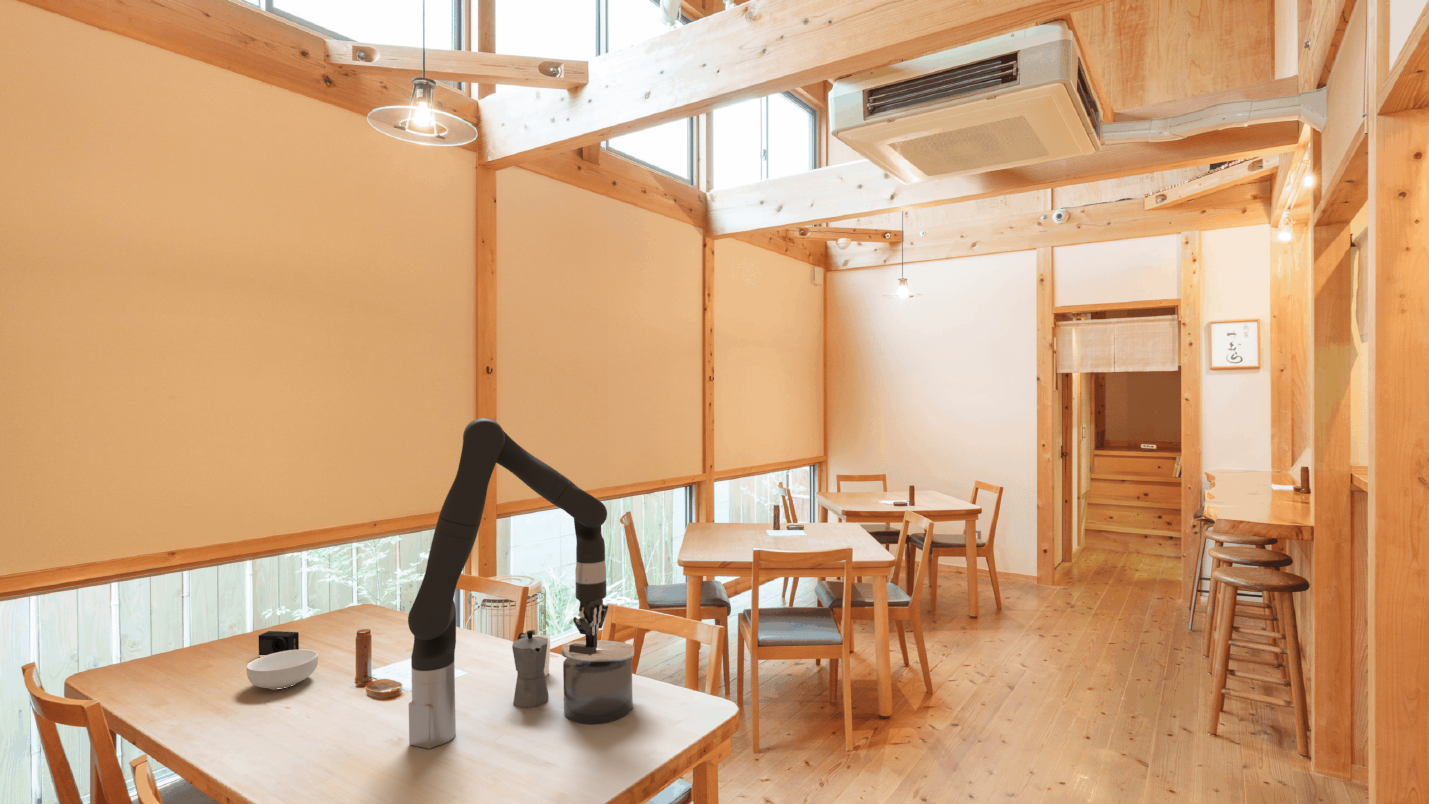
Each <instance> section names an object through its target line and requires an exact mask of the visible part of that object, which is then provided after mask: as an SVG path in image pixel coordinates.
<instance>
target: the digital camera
mask: <svg viewBox="0 0 1429 804" xmlns="http://www.w3.org/2000/svg"><path fill="white" fill-rule="evenodd" d="M299 640H300V639H299V632H298V631H281V630H280V631H279V630H277V631H276V630H268V631H266V632H264V633H261V634H259V635H258V656H259V655H269V654H273V653H277V652H282V651H288V650H299V648H300V644H299V643H300V641H299Z"/></svg>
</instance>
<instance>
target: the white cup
mask: <svg viewBox="0 0 1429 804" xmlns="http://www.w3.org/2000/svg"><path fill="white" fill-rule="evenodd" d="M536 636H539V637H543V638H547V639H548V643H547V651H546V659H545V667H544V673H545V677H547V676H548V675H549V674H550V673H549V672H550V655H551V637H550V636H549V635H546V634H533V636H532V637H536Z"/></svg>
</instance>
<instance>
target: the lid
mask: <svg viewBox="0 0 1429 804" xmlns="http://www.w3.org/2000/svg"><path fill="white" fill-rule="evenodd" d="M561 656H562V657H563V658H565V659H566V658H569V659H573V660H579V661H588V662H611V661H620V660H625V659H629V658H631V657H632V658H634V656H635V647H634V646H633V645H632V644H629V643H626V642H624V641H615V640H609V639H608V640H604V639H602V640H601V639H599V640H598V639H597V648H596V646H591V645H586V640H577V641H576V640H575V641H571V642H566V643H564V644H563V645H562V646H561Z"/></svg>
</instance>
